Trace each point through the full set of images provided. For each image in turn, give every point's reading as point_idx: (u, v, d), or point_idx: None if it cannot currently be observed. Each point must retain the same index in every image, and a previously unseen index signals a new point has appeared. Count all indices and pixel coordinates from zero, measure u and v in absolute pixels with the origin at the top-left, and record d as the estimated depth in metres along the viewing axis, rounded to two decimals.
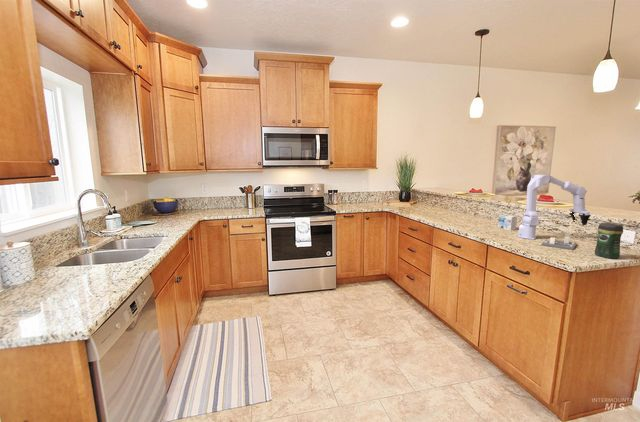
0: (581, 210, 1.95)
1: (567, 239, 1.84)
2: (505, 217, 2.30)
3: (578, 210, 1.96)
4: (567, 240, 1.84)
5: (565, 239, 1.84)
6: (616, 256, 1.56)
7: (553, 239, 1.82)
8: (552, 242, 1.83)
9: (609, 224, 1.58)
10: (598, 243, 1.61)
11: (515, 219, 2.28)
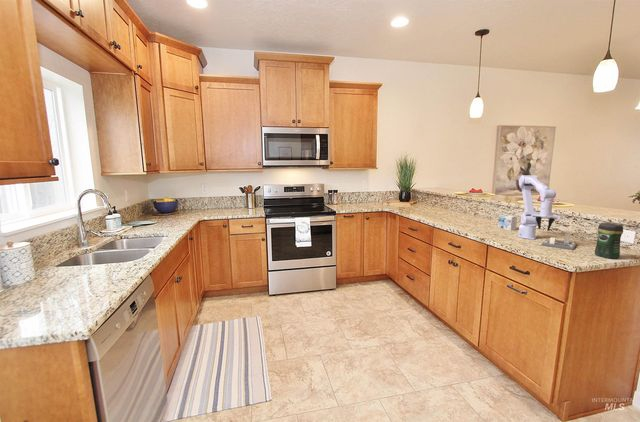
0: None
1: (567, 239, 1.84)
2: (505, 217, 2.30)
3: None
4: (567, 240, 1.84)
5: (565, 239, 1.84)
6: (616, 256, 1.56)
7: (553, 239, 1.82)
8: (552, 242, 1.83)
9: (609, 224, 1.58)
10: (598, 243, 1.61)
11: (515, 219, 2.28)
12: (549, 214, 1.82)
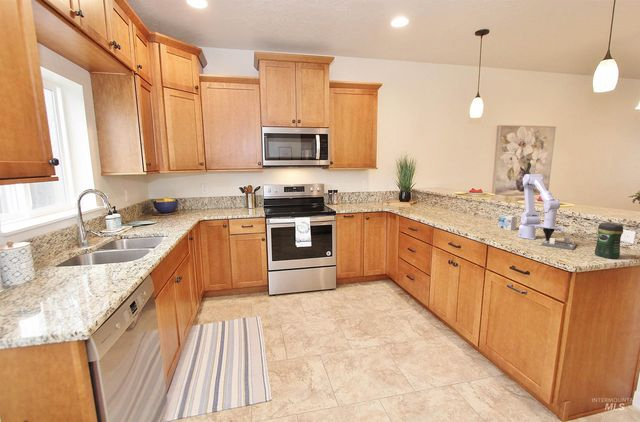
0: None
1: (567, 239, 1.84)
2: (505, 217, 2.30)
3: None
4: (567, 240, 1.84)
5: (565, 239, 1.84)
6: (616, 256, 1.56)
7: (553, 239, 1.82)
8: (552, 242, 1.83)
9: (609, 224, 1.58)
10: (598, 243, 1.61)
11: (515, 219, 2.28)
12: (553, 225, 1.81)
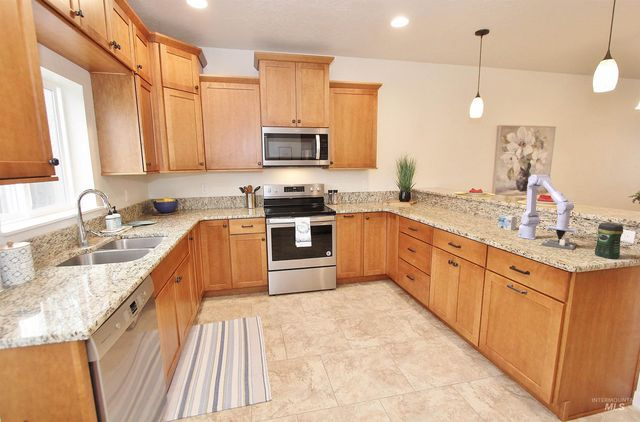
0: None
1: (567, 239, 1.84)
2: (505, 217, 2.30)
3: None
4: (567, 240, 1.84)
5: None
6: (616, 256, 1.56)
7: (563, 240, 1.79)
8: (562, 243, 1.79)
9: (609, 224, 1.58)
10: (598, 243, 1.61)
11: (515, 219, 2.28)
12: (566, 227, 1.77)
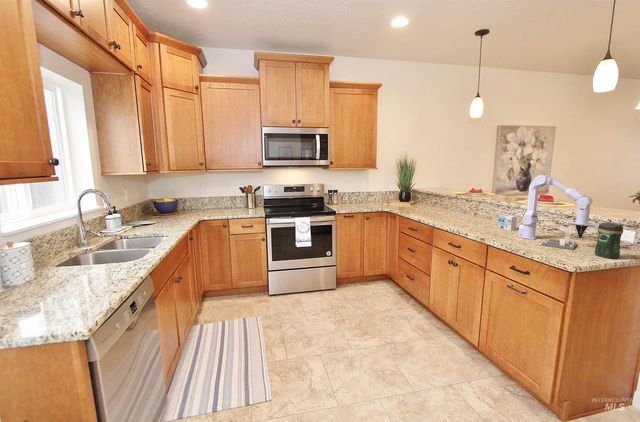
0: None
1: (567, 239, 1.84)
2: (505, 217, 2.30)
3: None
4: (567, 240, 1.84)
5: None
6: (616, 256, 1.56)
7: (563, 240, 1.79)
8: (562, 243, 1.79)
9: (609, 224, 1.58)
10: (598, 243, 1.61)
11: (515, 219, 2.28)
12: (586, 222, 1.76)
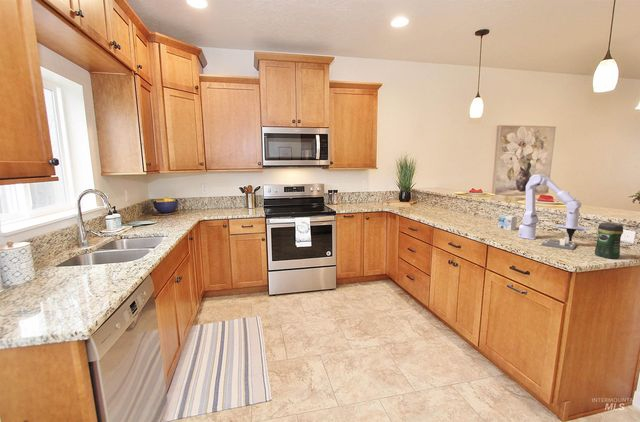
0: None
1: (567, 239, 1.84)
2: (505, 217, 2.30)
3: None
4: (567, 240, 1.84)
5: None
6: (616, 256, 1.56)
7: (563, 240, 1.79)
8: (562, 243, 1.79)
9: (609, 224, 1.58)
10: (598, 243, 1.61)
11: (515, 219, 2.28)
12: (575, 225, 1.80)
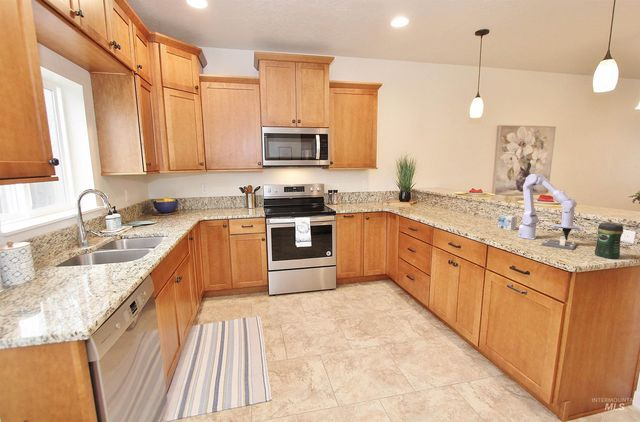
0: None
1: (563, 238, 1.85)
2: (505, 217, 2.30)
3: None
4: None
5: (561, 238, 1.86)
6: (616, 256, 1.56)
7: (563, 240, 1.79)
8: (562, 243, 1.79)
9: (609, 224, 1.58)
10: (598, 243, 1.61)
11: (515, 219, 2.28)
12: (571, 224, 1.81)
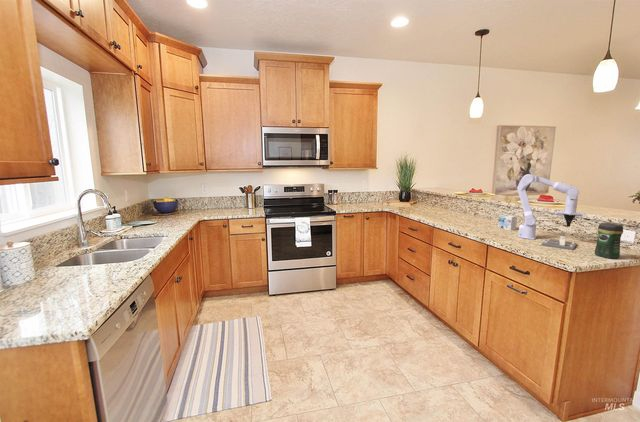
0: None
1: (562, 238, 1.85)
2: (505, 217, 2.30)
3: None
4: None
5: (561, 238, 1.86)
6: (616, 256, 1.56)
7: (563, 240, 1.79)
8: (562, 243, 1.79)
9: (609, 224, 1.58)
10: (598, 243, 1.61)
11: (515, 219, 2.28)
12: (574, 211, 1.86)
